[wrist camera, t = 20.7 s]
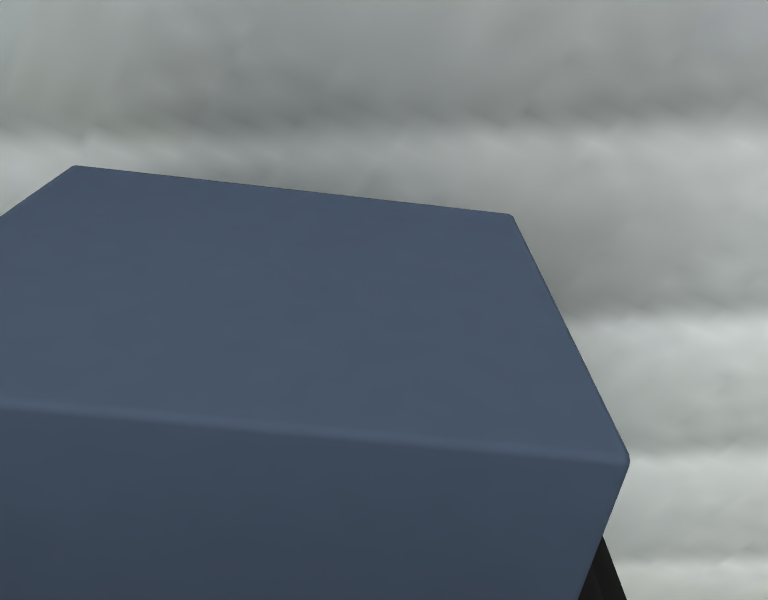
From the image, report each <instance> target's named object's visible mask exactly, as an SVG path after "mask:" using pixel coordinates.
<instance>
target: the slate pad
mask: <svg viewBox="0 0 768 600" xmlns="http://www.w3.org/2000/svg"><path fill="white" fill-rule="evenodd" d="M629 464H630V458H629V453H628V451H627V449H626V447H625V445H624V443H623V441H622V439H621V437H620V435H619V433H618V431H617V429H616V427H615V425H614V423H613V421H612V419H611V417H610V414H609V412H608V410H607V408H606V406H605V404H604V402H603V400H602V398H601V396H600V394H599V392H598V390H597V388H596V386H595V384H594V382H593V380H592V378H591V376H590V374H589V371H588V369H587V367H586V365H585V363H584V361H583V359H582V357H581V355H580V353H579V351H578V349H577V347H576V345H575V343H574V341H573V339H572V337H571V335H570V333H569V331H568V329H567V326H566V324H565V322H564V320H563V318H562V316H561V314H560V312H559V310H558V308H557V306H556V304H555V302H554V300H553V298H552V296H551V294H550V292H549V290H548V288H547V286H546V283H545V281H544V279H543V277H542V275H541V273H540V271H539V269H538V267H537V265H536V263H535V261H534V259H533V257H532V255H531V253H530V251H529V249H528V247H527V245H526V243H525V240H524V238H523V236H522V234H521V232H520V230H519V228H518V226H517V224H516V222H515V220H514V218H513V216H511V215H510V214H504V213H495V212H486V211H477V210H468V209H459V208H450V207H441V206H433V205H424V204H415V203H406V202H397V201H388V200H379V199H370V198H361V197H353V196H344V195H335V194H326V193H317V192H308V191H299V190H290V189H282V188H273V187H264V186H255V185H246V184H237V183H228V182H219V181H211V180H202V179H193V178H184V177H175V176H166V175H157V174H148V173H139V172H131V171H122V170H113V169H104V168H95V167H86V166H77V165H75V166H72V167H70V168H69V169H67V170H66V171H65V172H63V173H62V174H60V175H59V176H58V177H56V178H55V179H53V180H52V181H50V182H49V183H48V184H46V185H45V186H43V187H42V188H40V189H39V190H38V191H36V192H35V193H33V194H32V195H30V196H29V197H28V198H26V199H25V200H23V201H22V202H20V203H19V204H18V205H16V206H15V207H13V208H12V209H10V210H9V211H8V212H6V213H5V214H3V215H2V216H0V600H578V597H579V595H580V592H581V590H582V587H583V584H584V582H585V579H586V577H587V574H588V571H589V569H590V566H591V564H592V561H593V558H594V556H595V553H596V551H597V548H598V546H599V543H600V540H601V538H602V535H603V533H604V530H605V527H606V525H607V522H608V520H609V517H610V514H611V512H612V509H613V507H614V504H615V501H616V499H617V496H618V494H619V491H620V489H621V486H622V483H623V481H624V478H625V476H626V473H627V470H628V468H629Z"/></svg>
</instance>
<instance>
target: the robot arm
mask: <svg viewBox="0 0 768 600" xmlns="http://www.w3.org/2000/svg"><path fill="white" fill-rule="evenodd" d="M578 600H627V599H626V596H625V594H624V591H623V588H622V586H621V583H620V580H619V578H618V575H617V572H616V570H615V567H614V564H613V562H612V559H611V556H610V554H609V551H608V548H607V546H606V543H605V540H604V538H603V535H602V538H601V540H600V543H599V546H598V548H597V551H596V553H595V556H594V558H593V561H592V564H591V566H590V569H589V571H588V574H587V577H586V579H585V582H584V584H583V587H582V590H581V592H580V595H579V597H578Z"/></svg>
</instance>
